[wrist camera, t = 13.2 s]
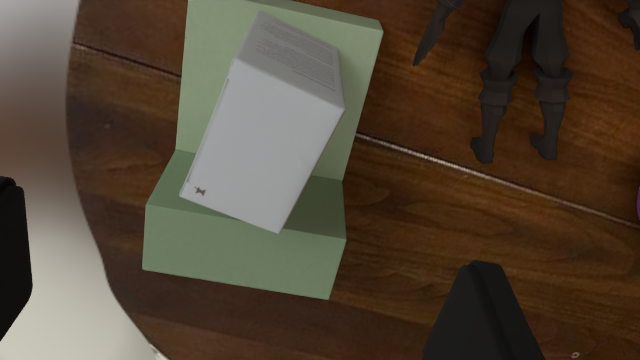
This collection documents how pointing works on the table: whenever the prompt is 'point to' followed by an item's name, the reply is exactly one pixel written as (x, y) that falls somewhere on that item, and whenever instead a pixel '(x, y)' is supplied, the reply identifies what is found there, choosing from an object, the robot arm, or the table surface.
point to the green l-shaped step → (320, 191)
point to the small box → (268, 125)
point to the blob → (638, 203)
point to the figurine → (505, 53)
